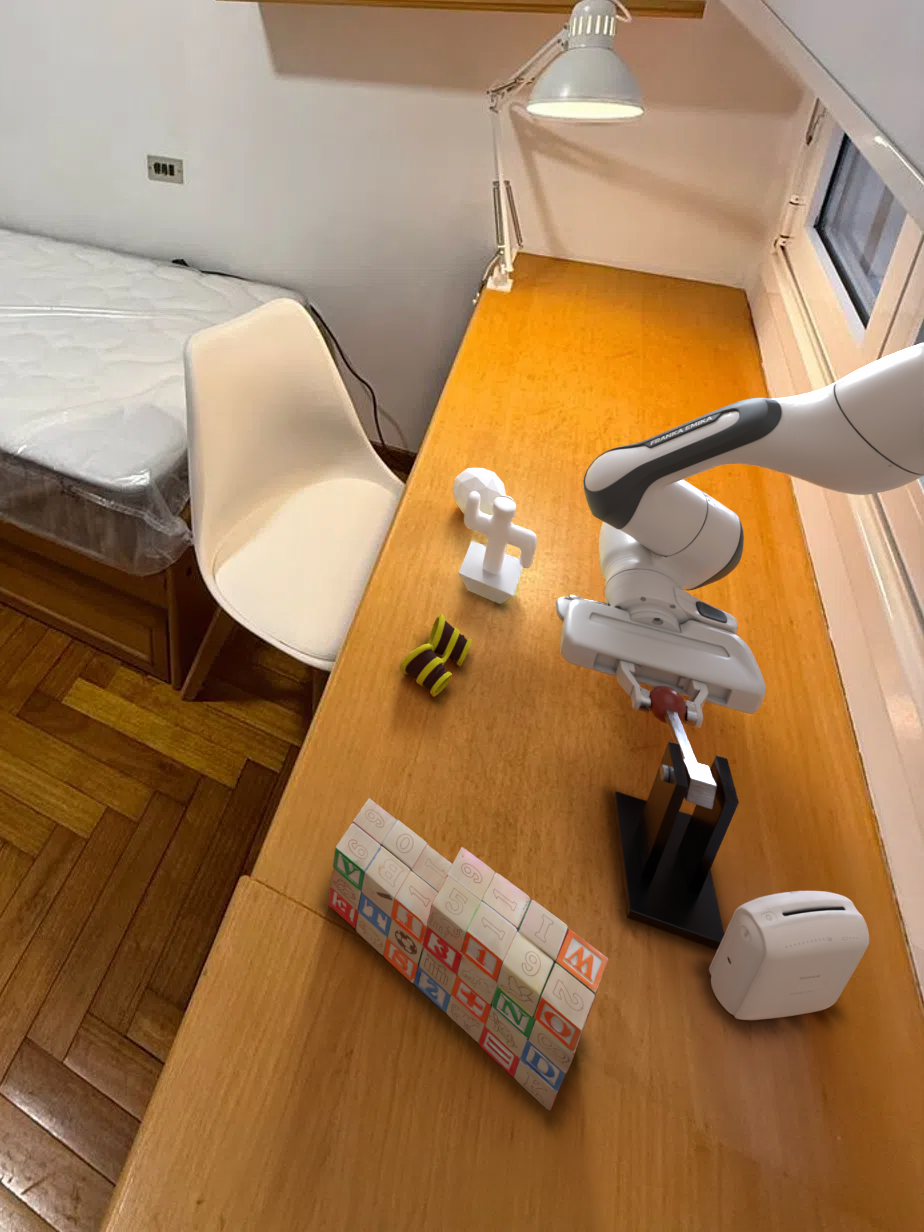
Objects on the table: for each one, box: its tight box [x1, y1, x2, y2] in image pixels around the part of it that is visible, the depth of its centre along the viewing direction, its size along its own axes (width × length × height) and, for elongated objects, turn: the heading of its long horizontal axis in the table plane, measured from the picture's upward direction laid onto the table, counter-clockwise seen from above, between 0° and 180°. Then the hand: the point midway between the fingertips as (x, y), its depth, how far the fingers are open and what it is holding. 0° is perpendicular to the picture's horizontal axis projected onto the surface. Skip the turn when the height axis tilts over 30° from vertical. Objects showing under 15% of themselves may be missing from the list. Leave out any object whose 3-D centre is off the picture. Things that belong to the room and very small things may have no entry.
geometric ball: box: [452, 467, 507, 516], centre depth 128 cm, size 8×8×8 cm
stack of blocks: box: [327, 798, 609, 1112], centre depth 73 cm, size 21×6×12 cm, turn 47°
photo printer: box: [708, 890, 870, 1021], centre depth 72 cm, size 10×4×12 cm, turn 96°
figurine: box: [458, 491, 538, 605], centre depth 113 cm, size 7×9×15 cm
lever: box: [649, 686, 717, 809], centre depth 84 cm, size 15×4×4 cm, turn 161°
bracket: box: [612, 741, 740, 951], centre depth 80 cm, size 12×8×15 cm, turn 160°
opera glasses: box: [399, 613, 473, 698], centre depth 103 cm, size 10×5×5 cm, turn 137°
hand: (668, 714), depth 89 cm, fingers closed on lever, 3 cm apart
